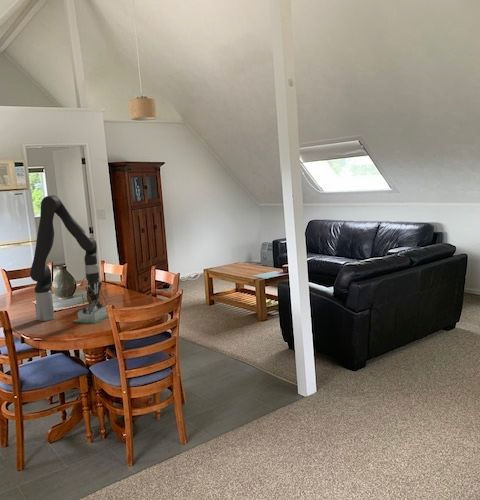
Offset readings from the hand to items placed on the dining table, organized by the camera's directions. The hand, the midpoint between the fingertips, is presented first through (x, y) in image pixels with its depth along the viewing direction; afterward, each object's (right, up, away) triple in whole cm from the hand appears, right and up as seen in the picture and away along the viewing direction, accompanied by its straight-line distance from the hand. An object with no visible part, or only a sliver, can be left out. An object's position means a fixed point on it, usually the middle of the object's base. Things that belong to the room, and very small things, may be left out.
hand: (95, 299), depth 297 cm
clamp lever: (-1, -4, -2) cm, 5 cm away
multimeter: (-7, -7, +23) cm, 26 cm away
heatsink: (0, -11, -1) cm, 11 cm away
